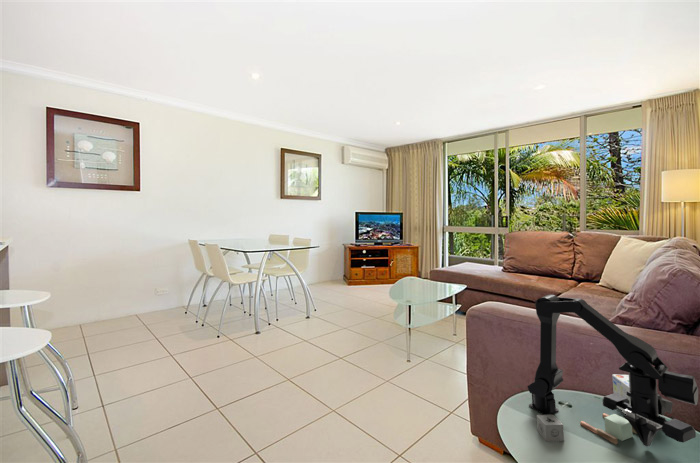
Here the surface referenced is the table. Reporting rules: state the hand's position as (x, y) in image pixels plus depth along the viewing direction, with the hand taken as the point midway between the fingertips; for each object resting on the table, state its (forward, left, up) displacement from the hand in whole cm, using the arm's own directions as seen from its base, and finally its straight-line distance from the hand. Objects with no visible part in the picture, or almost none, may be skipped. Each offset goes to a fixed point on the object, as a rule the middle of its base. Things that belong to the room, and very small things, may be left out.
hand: (646, 445), depth 88 cm
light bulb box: (-11, +15, -1) cm, 19 cm away
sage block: (-7, 0, -1) cm, 7 cm away
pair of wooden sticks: (-9, 0, -1) cm, 10 cm away
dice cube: (-14, -18, -1) cm, 23 cm away
